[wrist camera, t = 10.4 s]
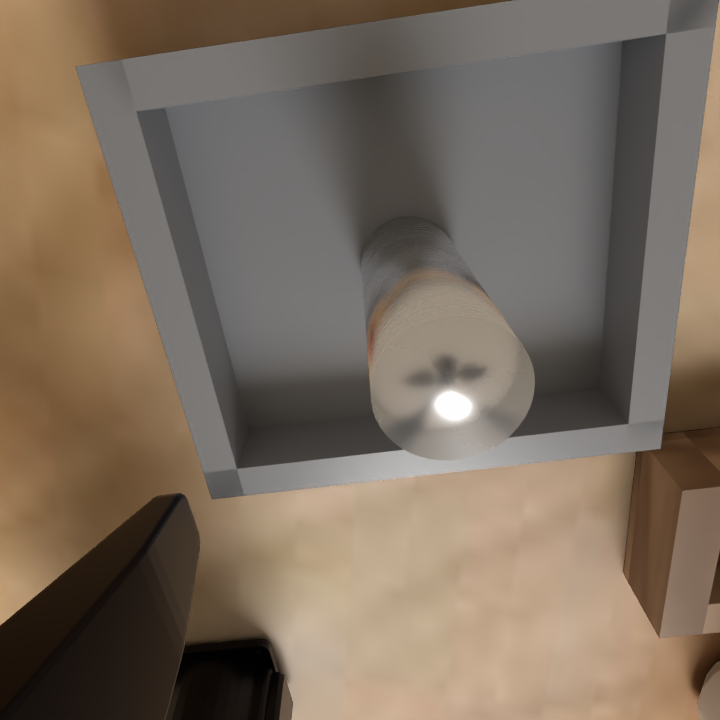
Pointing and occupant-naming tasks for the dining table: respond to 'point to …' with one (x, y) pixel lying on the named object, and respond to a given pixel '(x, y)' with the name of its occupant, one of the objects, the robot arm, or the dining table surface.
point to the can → (710, 695)
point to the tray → (418, 199)
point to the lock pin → (438, 347)
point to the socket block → (677, 533)
